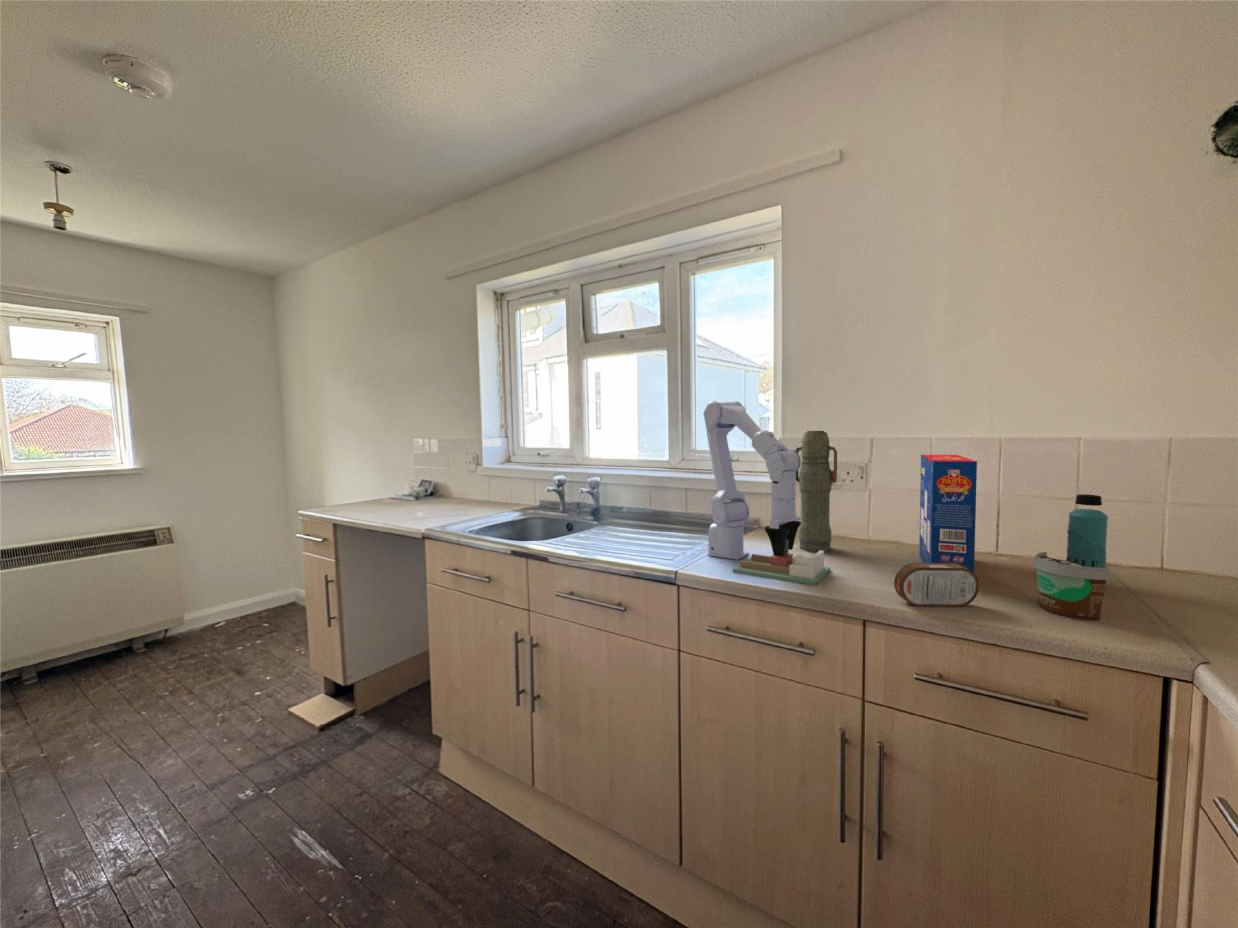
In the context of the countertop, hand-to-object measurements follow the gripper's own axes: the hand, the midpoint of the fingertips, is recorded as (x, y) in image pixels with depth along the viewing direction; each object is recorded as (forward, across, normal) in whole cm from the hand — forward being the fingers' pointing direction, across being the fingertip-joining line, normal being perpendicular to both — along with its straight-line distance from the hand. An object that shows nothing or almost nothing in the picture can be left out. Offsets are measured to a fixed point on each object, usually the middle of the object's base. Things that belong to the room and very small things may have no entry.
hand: (783, 552), depth 121 cm
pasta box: (+5, +23, -32) cm, 40 cm away
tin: (+5, -7, -32) cm, 34 cm away
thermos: (+5, +28, 0) cm, 28 cm away
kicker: (+5, 0, 0) cm, 5 cm away
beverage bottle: (+5, +25, -58) cm, 64 cm away
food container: (+5, +1, -52) cm, 52 cm away
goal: (+5, 0, -6) cm, 7 cm away
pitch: (+5, 0, 0) cm, 5 cm away
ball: (+2, 0, -4) cm, 5 cm away
